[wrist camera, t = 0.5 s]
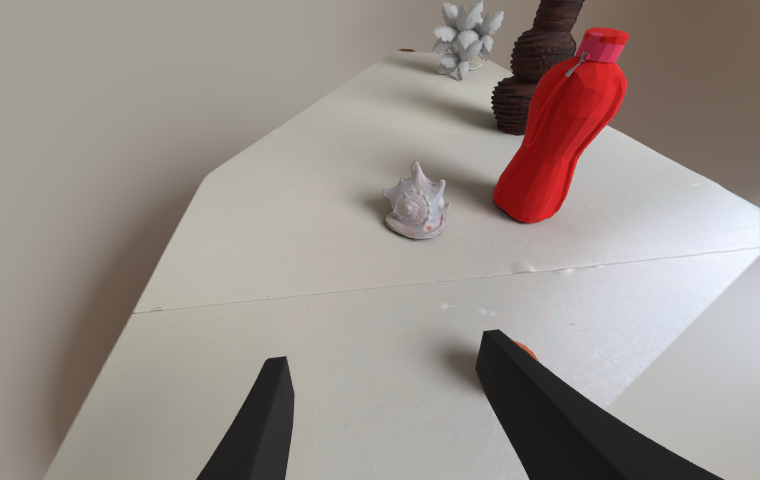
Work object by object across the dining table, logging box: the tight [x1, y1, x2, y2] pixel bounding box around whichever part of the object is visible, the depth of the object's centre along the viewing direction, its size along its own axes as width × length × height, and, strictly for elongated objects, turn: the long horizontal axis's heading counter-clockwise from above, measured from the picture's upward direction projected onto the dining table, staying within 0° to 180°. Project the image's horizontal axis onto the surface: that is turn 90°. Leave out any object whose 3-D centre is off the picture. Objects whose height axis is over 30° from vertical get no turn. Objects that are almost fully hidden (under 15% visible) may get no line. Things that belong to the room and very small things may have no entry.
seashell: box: [383, 161, 450, 239], centre depth 43 cm, size 10×12×9 cm
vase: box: [491, 0, 585, 135], centre depth 65 cm, size 15×15×30 cm
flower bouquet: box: [432, 1, 503, 80], centre depth 103 cm, size 17×34×21 cm, turn 121°
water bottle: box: [493, 28, 630, 223], centre depth 41 cm, size 9×11×25 cm
